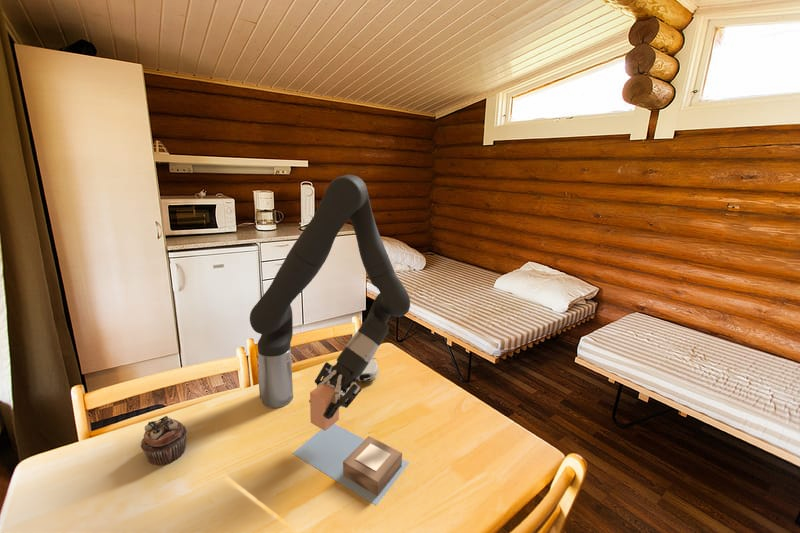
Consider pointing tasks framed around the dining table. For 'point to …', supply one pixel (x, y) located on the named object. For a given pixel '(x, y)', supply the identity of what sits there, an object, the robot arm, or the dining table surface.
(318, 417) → the terracotta block
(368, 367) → the robot toy
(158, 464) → the cupcake
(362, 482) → the walnut foundation
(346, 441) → the board
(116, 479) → the dining table surface
